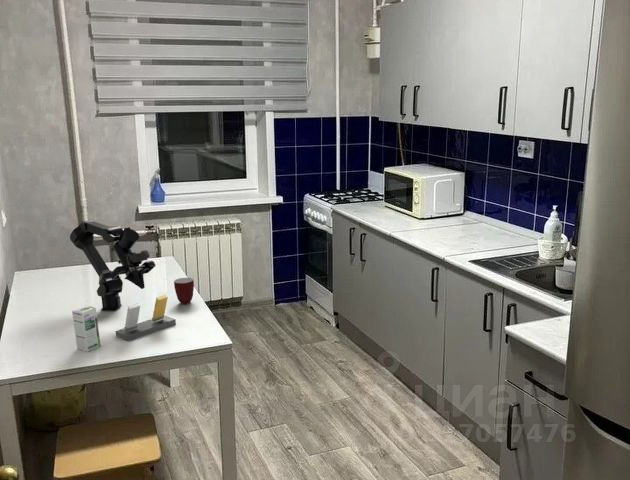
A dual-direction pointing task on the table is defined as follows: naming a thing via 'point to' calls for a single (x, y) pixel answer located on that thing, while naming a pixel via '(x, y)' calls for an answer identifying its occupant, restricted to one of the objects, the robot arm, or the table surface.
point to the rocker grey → (132, 317)
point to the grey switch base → (145, 328)
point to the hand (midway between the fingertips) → (143, 288)
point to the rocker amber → (159, 308)
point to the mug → (184, 289)
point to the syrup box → (86, 328)
